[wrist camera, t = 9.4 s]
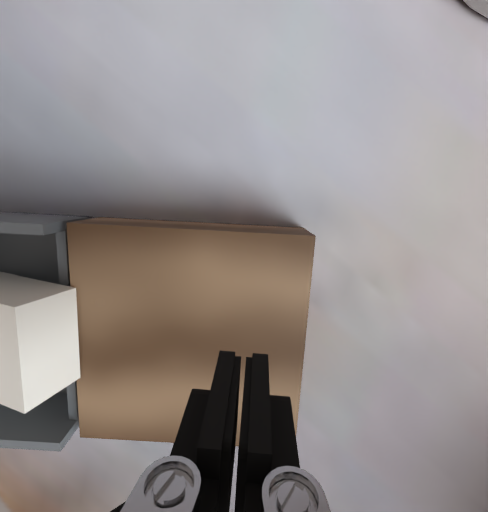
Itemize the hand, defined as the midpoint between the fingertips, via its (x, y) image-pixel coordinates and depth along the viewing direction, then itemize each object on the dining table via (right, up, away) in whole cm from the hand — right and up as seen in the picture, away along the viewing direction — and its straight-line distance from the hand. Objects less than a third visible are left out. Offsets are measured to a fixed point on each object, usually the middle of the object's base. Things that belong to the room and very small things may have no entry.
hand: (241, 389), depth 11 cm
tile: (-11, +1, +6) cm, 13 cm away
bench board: (-3, +1, +9) cm, 9 cm away
